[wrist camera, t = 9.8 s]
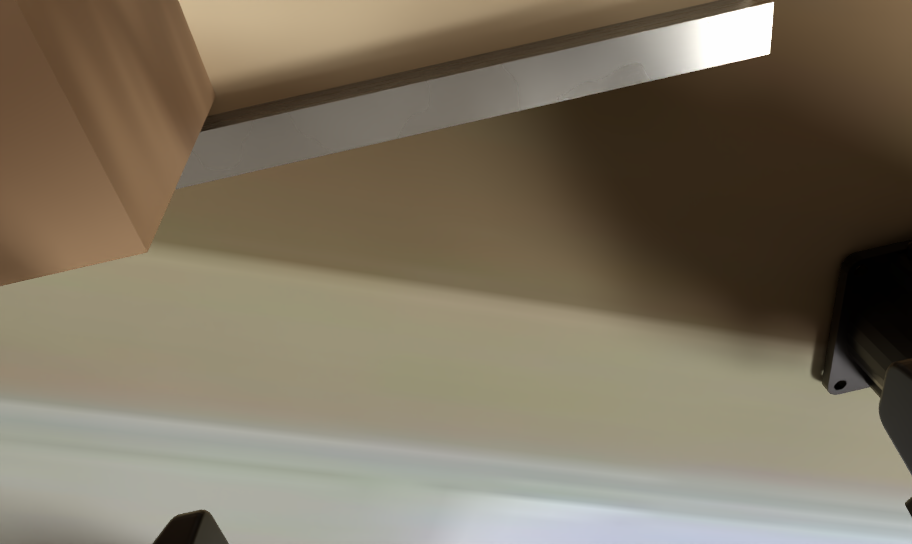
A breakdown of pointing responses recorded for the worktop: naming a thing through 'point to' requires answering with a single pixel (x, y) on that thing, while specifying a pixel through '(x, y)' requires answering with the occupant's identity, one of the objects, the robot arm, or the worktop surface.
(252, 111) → the guide rail
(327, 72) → the maple board
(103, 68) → the marking gauge
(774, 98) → the worktop surface
